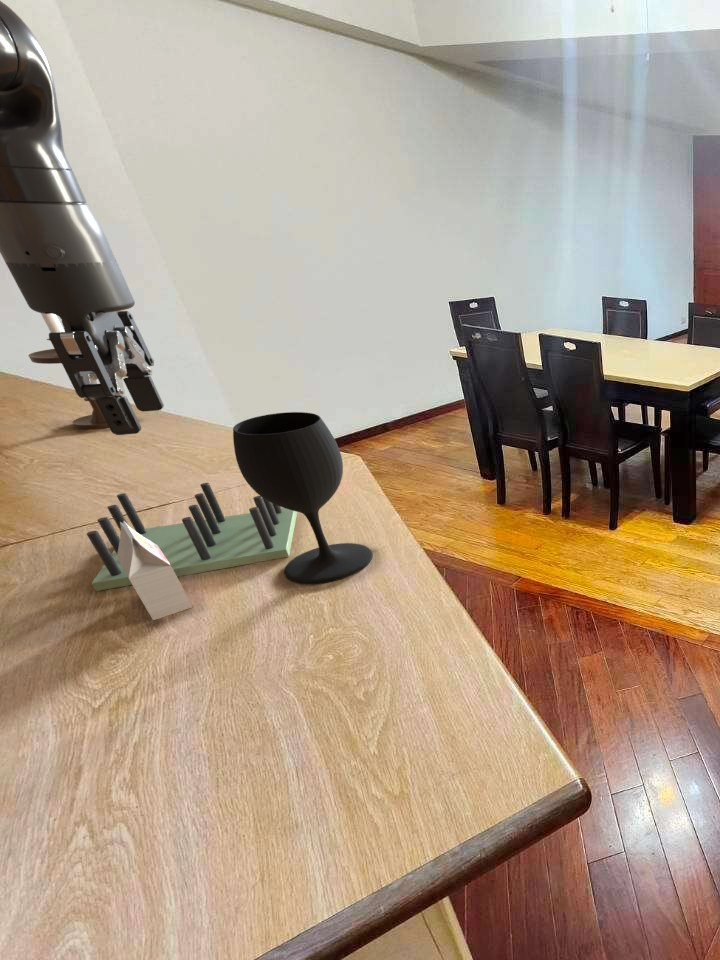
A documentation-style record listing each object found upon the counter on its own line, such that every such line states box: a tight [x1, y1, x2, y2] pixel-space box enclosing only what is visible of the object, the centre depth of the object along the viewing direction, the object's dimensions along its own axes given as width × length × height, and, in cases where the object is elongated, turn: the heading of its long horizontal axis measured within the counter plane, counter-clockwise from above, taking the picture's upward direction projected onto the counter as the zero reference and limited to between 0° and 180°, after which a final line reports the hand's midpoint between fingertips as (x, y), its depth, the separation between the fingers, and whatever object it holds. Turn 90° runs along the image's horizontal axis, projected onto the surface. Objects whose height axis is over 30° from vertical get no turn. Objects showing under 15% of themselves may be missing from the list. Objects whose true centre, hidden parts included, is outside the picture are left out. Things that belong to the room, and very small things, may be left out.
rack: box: [86, 482, 298, 592], centre depth 81 cm, size 20×15×7 cm
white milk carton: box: [117, 521, 194, 621], centre depth 69 cm, size 4×7×10 cm, turn 50°
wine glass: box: [232, 411, 374, 585], centre depth 76 cm, size 10×10×20 cm
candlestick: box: [28, 313, 109, 430], centre depth 116 cm, size 11×11×35 cm
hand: (140, 421), depth 65 cm, fingers open, 8 cm apart
